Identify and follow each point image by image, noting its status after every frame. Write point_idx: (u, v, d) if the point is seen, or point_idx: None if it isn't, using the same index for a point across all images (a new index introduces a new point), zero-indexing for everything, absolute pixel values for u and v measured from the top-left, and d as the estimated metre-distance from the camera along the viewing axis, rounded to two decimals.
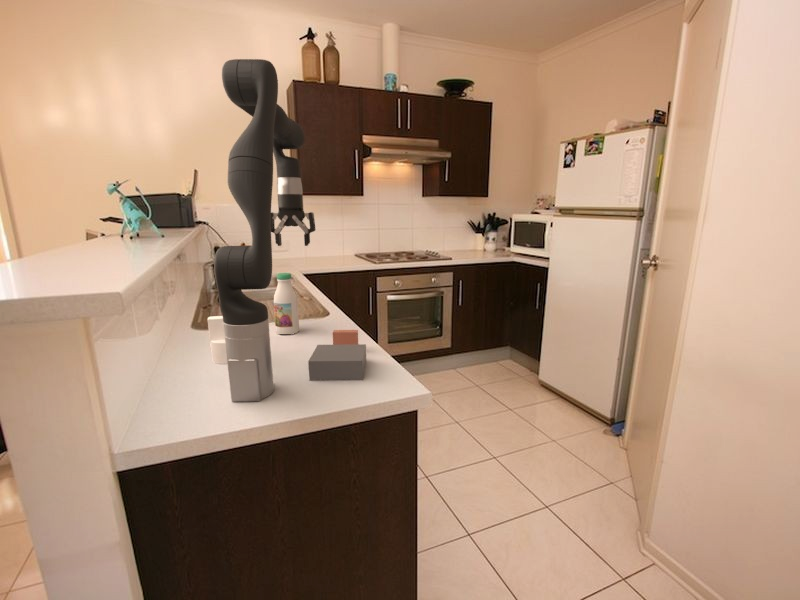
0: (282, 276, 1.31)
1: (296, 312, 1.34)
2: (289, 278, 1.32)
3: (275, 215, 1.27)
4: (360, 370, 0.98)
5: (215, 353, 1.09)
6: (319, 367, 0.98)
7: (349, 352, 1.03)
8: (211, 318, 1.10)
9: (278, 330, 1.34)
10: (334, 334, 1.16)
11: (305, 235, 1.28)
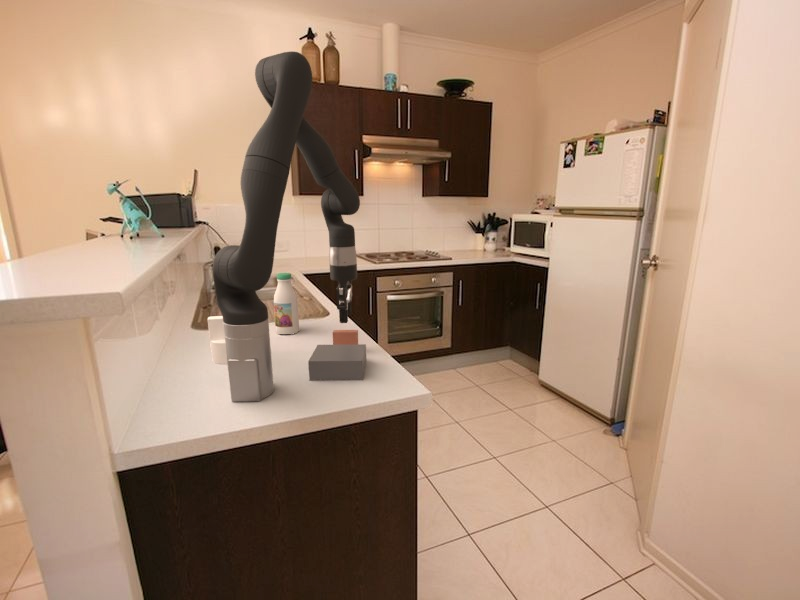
0: (282, 276, 1.31)
1: (296, 312, 1.34)
2: (289, 278, 1.32)
3: None
4: (360, 370, 0.98)
5: (215, 353, 1.09)
6: (319, 367, 0.98)
7: (349, 352, 1.03)
8: (211, 318, 1.10)
9: (278, 330, 1.34)
10: (334, 334, 1.16)
11: None
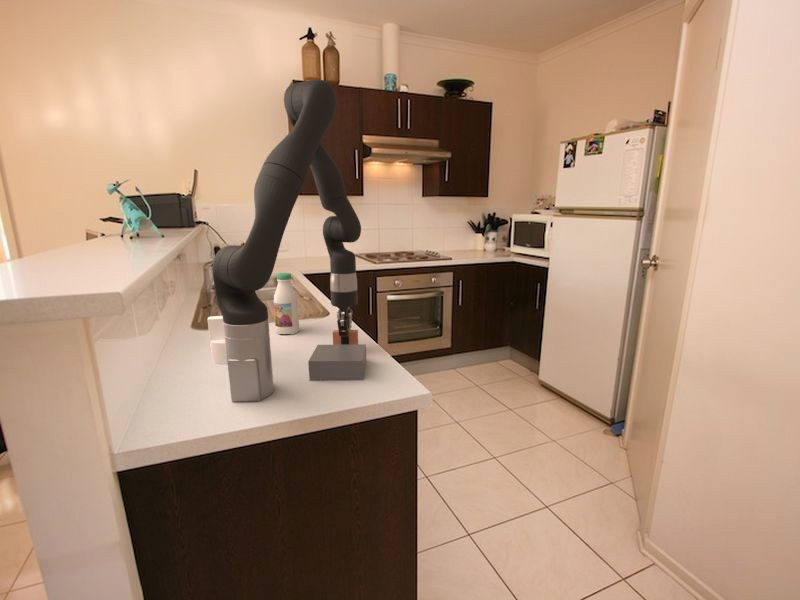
0: (282, 276, 1.31)
1: (296, 312, 1.34)
2: (289, 278, 1.32)
3: (344, 318, 1.12)
4: (360, 370, 0.98)
5: (215, 353, 1.09)
6: (319, 367, 0.98)
7: (349, 352, 1.03)
8: (211, 318, 1.10)
9: (278, 330, 1.34)
10: (334, 334, 1.16)
11: None
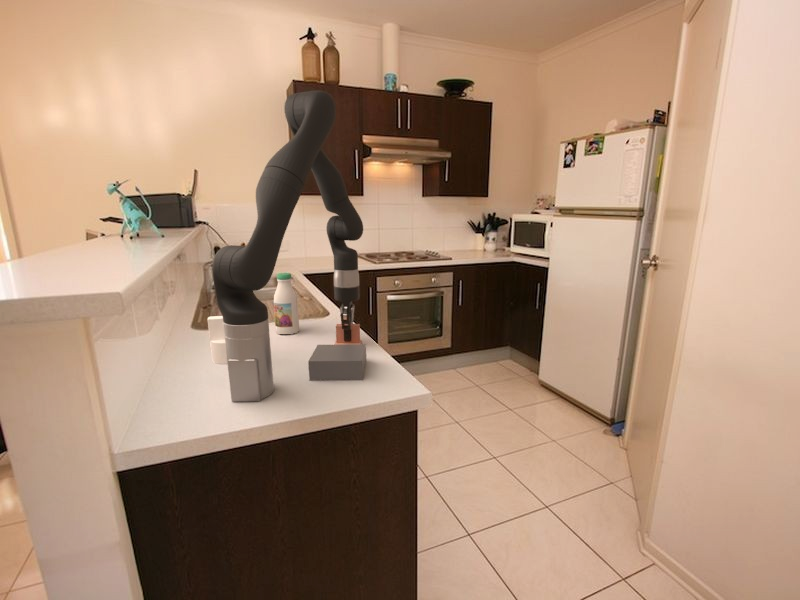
0: (282, 276, 1.31)
1: (296, 312, 1.34)
2: (289, 278, 1.32)
3: (347, 312, 1.18)
4: (360, 370, 0.98)
5: (215, 353, 1.09)
6: (319, 367, 0.98)
7: (349, 352, 1.03)
8: (211, 318, 1.10)
9: (278, 330, 1.34)
10: (337, 327, 1.22)
11: None
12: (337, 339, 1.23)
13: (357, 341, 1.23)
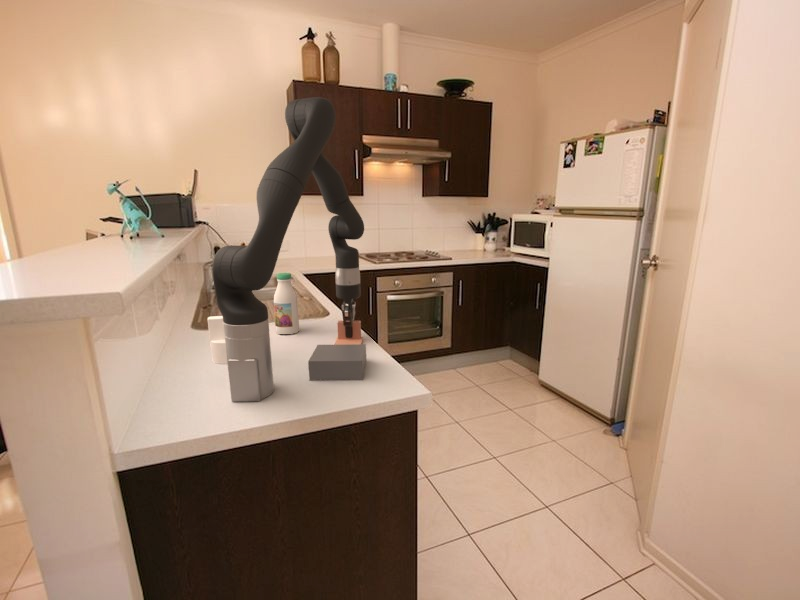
0: (282, 276, 1.31)
1: (296, 312, 1.34)
2: (289, 278, 1.32)
3: (348, 309, 1.21)
4: (360, 370, 0.98)
5: (215, 353, 1.09)
6: (319, 367, 0.98)
7: (349, 352, 1.03)
8: (211, 318, 1.10)
9: (278, 330, 1.34)
10: (339, 324, 1.26)
11: None
12: (339, 335, 1.27)
13: (358, 337, 1.27)
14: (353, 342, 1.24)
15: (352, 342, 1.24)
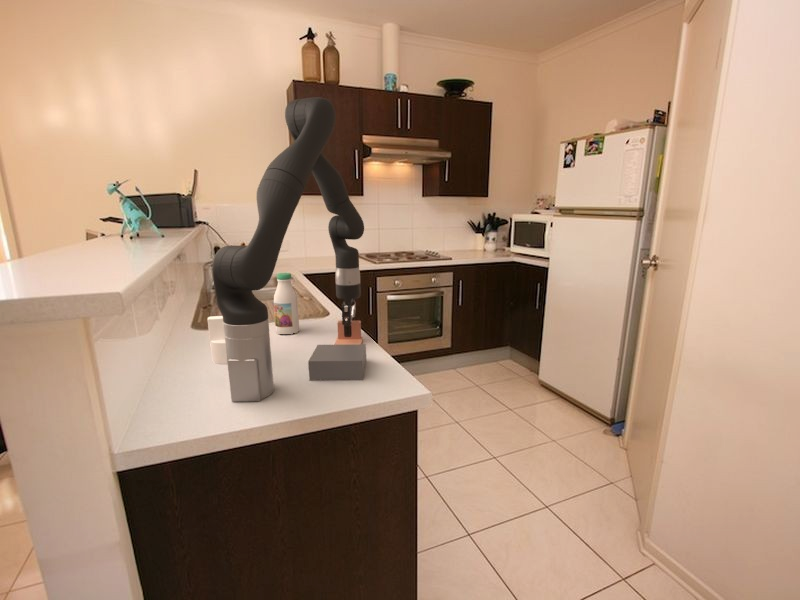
0: (282, 276, 1.31)
1: (296, 312, 1.34)
2: (289, 278, 1.32)
3: None
4: (360, 370, 0.98)
5: (215, 353, 1.09)
6: (319, 367, 0.98)
7: (349, 352, 1.03)
8: (211, 318, 1.10)
9: (278, 330, 1.34)
10: (339, 324, 1.26)
11: None
12: (339, 335, 1.27)
13: (358, 337, 1.27)
14: (353, 342, 1.24)
15: (352, 342, 1.24)
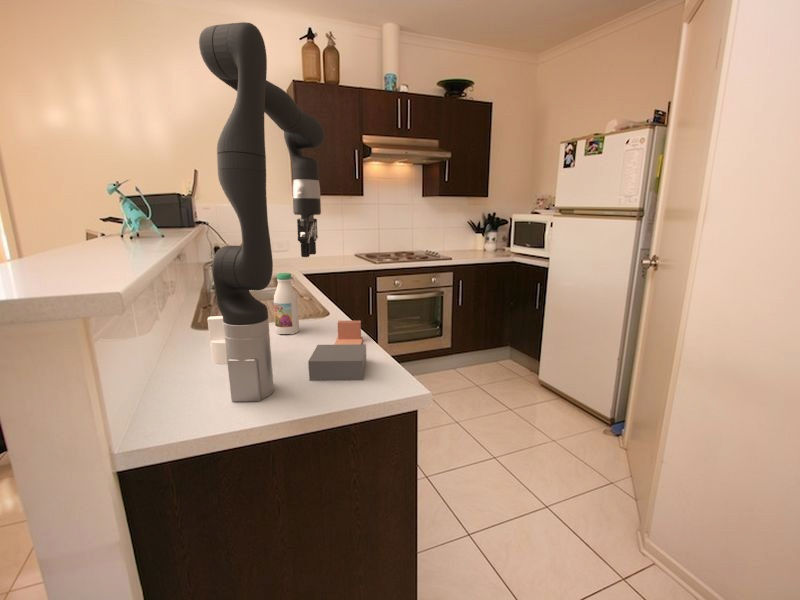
0: (282, 276, 1.31)
1: (296, 312, 1.34)
2: (289, 278, 1.32)
3: None
4: (360, 370, 0.98)
5: (215, 353, 1.09)
6: (319, 367, 0.98)
7: (349, 352, 1.03)
8: (211, 318, 1.10)
9: (278, 330, 1.34)
10: (339, 324, 1.26)
11: (315, 243, 1.20)
12: (339, 335, 1.27)
13: (358, 337, 1.27)
14: (353, 342, 1.24)
15: (352, 342, 1.24)
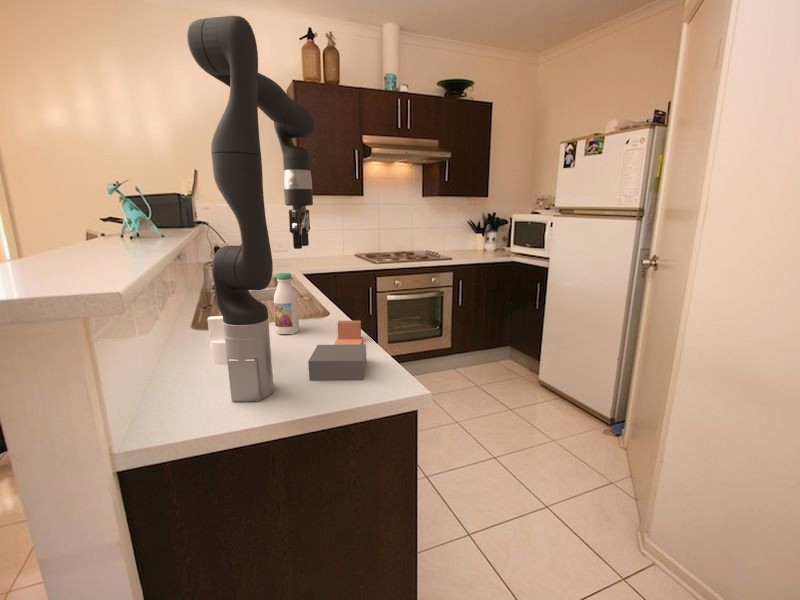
0: (282, 276, 1.31)
1: (296, 312, 1.34)
2: (289, 278, 1.32)
3: None
4: (360, 370, 0.98)
5: (215, 353, 1.09)
6: (319, 367, 0.98)
7: (349, 352, 1.03)
8: (211, 318, 1.10)
9: (278, 330, 1.34)
10: (339, 324, 1.26)
11: (307, 234, 1.18)
12: (339, 335, 1.27)
13: (358, 337, 1.27)
14: (353, 342, 1.24)
15: (352, 342, 1.24)
